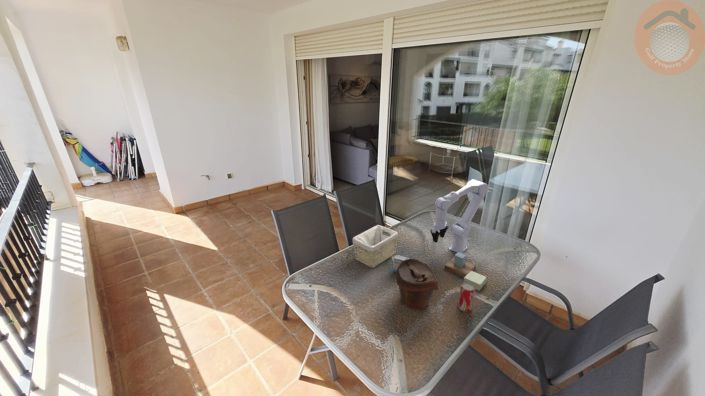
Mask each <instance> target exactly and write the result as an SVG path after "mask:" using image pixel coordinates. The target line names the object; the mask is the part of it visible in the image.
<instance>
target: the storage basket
mask: <svg viewBox="0 0 705 396" xmlns="http://www.w3.org/2000/svg"><path fill="white" fill-rule="evenodd" d="M383 232H385V233H387V234H389V235H385V234H383ZM398 237H399V234H398V231H396V230H393V229H391V228H388V227H386V226H383V225H380V224H377V225H374V226H373V227H371V228H369V229H367V230H365V231H362V232H361V233H359V234H357V235H355V236H353V237H352V244H353V250H354V255H355V256H354V257H355V260H356V261H358V262H360V263H362V264H364V265H366V266H367V267H369V268H371V269H373V268H376V267H377V266H379V265H380V264H381V263H383V262H385V261H386V260H388V259H389V258H391V256H392V257H393V256H394V255H395V254H396V253H397V252H396V251H397V244H398V243H397V242H398Z"/></svg>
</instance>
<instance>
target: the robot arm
mask: <svg viewBox="0 0 705 396" xmlns="http://www.w3.org/2000/svg"><path fill="white" fill-rule="evenodd" d="M488 191H489V185H488V184H487V183H485V182H482V181H479V180H477V179H474V178H472V179H470V180H469V181H467V183H466V184H465V185H464V186H463V187H461V188H460V189H458V190H457V191H450V193H448V194H446V195H445V196H443V197H437V198H436V200H435V202H434V206H435V218H434V223H432V225H433V227H432V229H430V231H429V232H430V234H431V238H432V242H434V243H438V241H439V237H440V238H442V239H444V237H445V236H446V233H447V231H448V229H450V232H451V235H452V239H451V246H450V247H449V248H448V250H451V251H453V252H455V253H456V254H457V253H458V252H460V253H464V252H465V251H466V250H467V249H468V246H467V244H468V237H469V235H470V232H471V226H470V223H471V221H472V219H473V218H474V216H475V214H476V213H477V211H478V210H479V207H480V205H481V204H482V202H483V200H484V198H485V197H486V195H487V193H488ZM468 193H471V194H472V198H471V200H470V202H469V204H468V205H467V206H466V209H465V210H464V213H463V215H462V216H461V218H460V219H459V220H456V221H455V222H454V223H453V224H452V225H451V226H450V228H449V225H448V221H447V215H448V214H447V212H448V210H449V209H450V207H451V206H452V205H453V204H454V203H456V202H458V201H459V200H460V197H463V196H464V195H467V194H468Z"/></svg>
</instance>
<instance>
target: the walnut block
mask: <svg viewBox="0 0 705 396" xmlns="http://www.w3.org/2000/svg"><path fill="white" fill-rule="evenodd" d="M476 266H477V264H476V263H474V262H470V261H468V260H466V264H465V265H464V266H463V267H462V268H460V267H458V266H456V265H454V257H453V258H451V259H450V260H449V261H448V262H447V263H445V264H444V270H445V271H449V272H451V273H454V274H455V275H456V276H457V275H458V276H460V277H462V278H464V277H465V276H466V275H467V274H468V273H469V272H470V271H473V272H474V270H475V269H476Z"/></svg>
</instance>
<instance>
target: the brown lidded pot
mask: <svg viewBox="0 0 705 396" xmlns="http://www.w3.org/2000/svg"><path fill="white" fill-rule="evenodd" d="M394 278H396V281H395V283H396V285H397V286H398V289H399V294H400V300H401V303H402V304H403V305H404V306H405V307H407V308H409V309H411V310H412V309H413V310H418V311H419V310H423V309H425V308H427V306H428V305H429V303H430V300H431V297H432V294H433V292H434V291H438V290H439V281H438V279H437V277H436V275H435V272H434V271H433V270H432V269H431V268H430V267H429V265H427V264H426V263H424V262H423V261H420V260H419V259H416V258H415V259H414V258H410V259H406V260H404V261H402V262H401V263H400V264H399V266H398V268H397V270H396V272H395V275H394Z"/></svg>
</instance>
